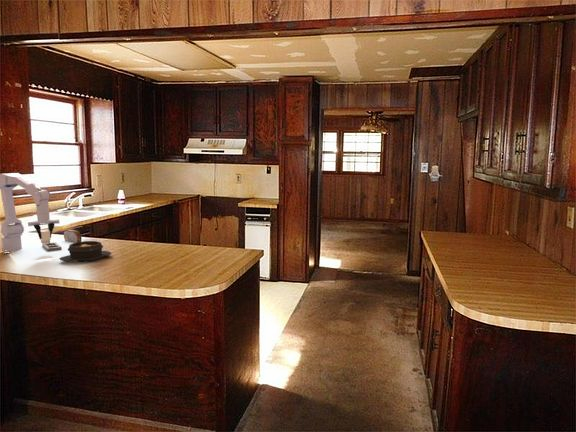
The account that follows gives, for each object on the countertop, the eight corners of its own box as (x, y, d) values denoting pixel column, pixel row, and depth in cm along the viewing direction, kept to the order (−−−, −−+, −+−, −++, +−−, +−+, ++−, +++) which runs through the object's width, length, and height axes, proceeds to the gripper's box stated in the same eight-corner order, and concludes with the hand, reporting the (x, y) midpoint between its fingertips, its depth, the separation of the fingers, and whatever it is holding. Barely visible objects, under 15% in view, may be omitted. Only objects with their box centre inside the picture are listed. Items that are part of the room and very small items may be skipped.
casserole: (66, 267, 212) (65, 250, 211) (55, 260, 225) (53, 244, 224) (117, 258, 229) (116, 243, 228) (103, 252, 243) (102, 237, 241)
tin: (82, 244, 263) (81, 230, 262) (77, 245, 261) (76, 231, 259) (68, 241, 271) (67, 228, 270) (63, 242, 269) (62, 229, 267)
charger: (42, 244, 229) (41, 231, 228) (40, 242, 233) (39, 230, 232) (50, 243, 232) (49, 230, 231) (48, 241, 236) (47, 229, 235)
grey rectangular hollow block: (47, 253, 239) (47, 247, 238) (42, 249, 250) (42, 242, 250) (61, 252, 243) (61, 245, 242) (56, 247, 255) (55, 241, 254)
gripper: (28, 215, 222) (31, 240, 224) (59, 212, 231) (61, 237, 233) (26, 213, 228) (28, 238, 230) (57, 211, 237) (58, 235, 239)
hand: (45, 238), depth 232 cm, fingers closed on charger, 4 cm apart
